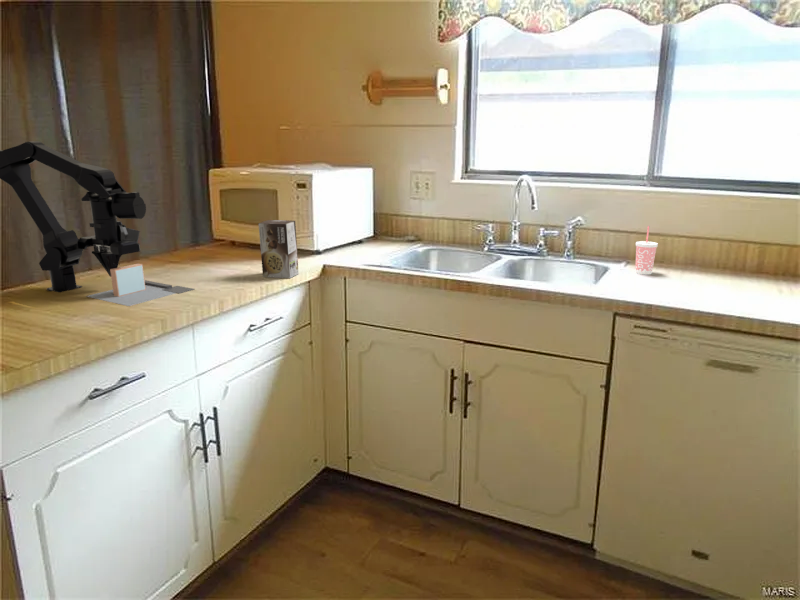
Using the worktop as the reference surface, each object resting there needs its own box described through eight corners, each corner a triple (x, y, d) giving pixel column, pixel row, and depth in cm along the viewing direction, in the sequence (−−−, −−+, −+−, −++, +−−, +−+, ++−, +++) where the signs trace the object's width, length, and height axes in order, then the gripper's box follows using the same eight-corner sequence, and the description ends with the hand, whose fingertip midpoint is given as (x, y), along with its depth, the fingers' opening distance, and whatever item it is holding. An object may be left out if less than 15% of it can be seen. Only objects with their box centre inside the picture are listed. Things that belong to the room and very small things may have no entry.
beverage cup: (628, 271, 177) (632, 225, 173) (642, 269, 180) (647, 223, 176) (644, 275, 172) (649, 228, 168) (659, 273, 175) (664, 226, 171)
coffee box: (299, 273, 177) (296, 220, 173) (290, 278, 171) (286, 223, 167) (271, 272, 179) (268, 219, 175) (261, 277, 173) (257, 222, 169)
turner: (133, 285, 164) (133, 282, 164) (149, 282, 168) (149, 278, 168) (179, 295, 155) (179, 291, 154) (194, 290, 159) (194, 287, 158)
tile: (113, 295, 153) (110, 269, 151) (141, 288, 159) (137, 263, 157) (118, 296, 152) (115, 270, 150) (145, 289, 158) (142, 264, 156)
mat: (85, 297, 153) (85, 296, 152) (140, 284, 166) (140, 282, 166) (129, 307, 144) (129, 306, 143) (183, 292, 157) (182, 291, 157)
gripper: (154, 217, 155) (161, 274, 160) (111, 212, 165) (118, 267, 169) (115, 222, 146) (124, 283, 151) (72, 217, 156) (81, 274, 160)
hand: (112, 276), depth 158 cm, fingers closed
